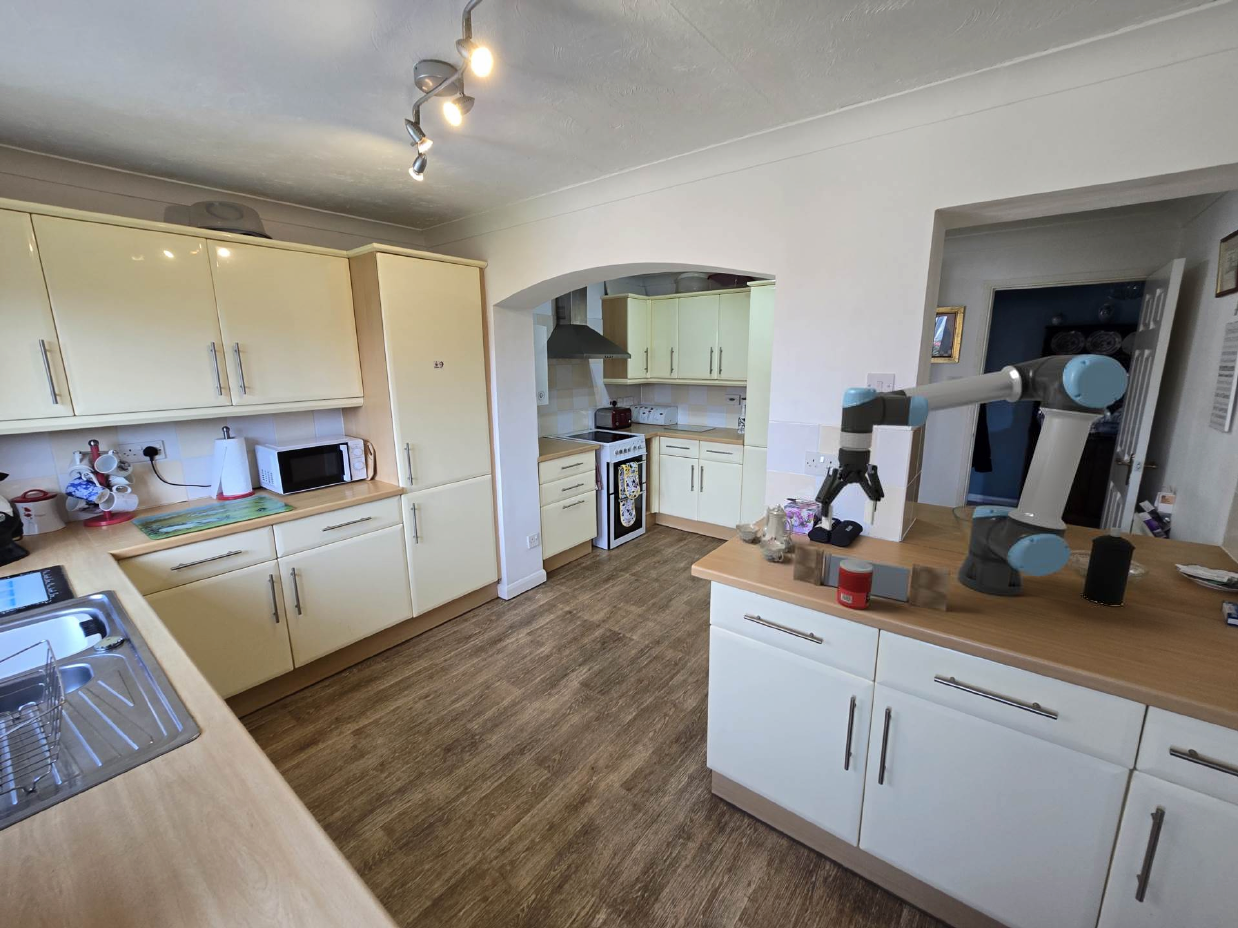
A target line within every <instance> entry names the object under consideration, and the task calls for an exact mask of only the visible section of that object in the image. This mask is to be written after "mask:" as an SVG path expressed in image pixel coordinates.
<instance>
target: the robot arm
mask: <svg viewBox="0 0 1238 928" xmlns="http://www.w3.org/2000/svg"><path fill="white" fill-rule="evenodd" d="M1128 381H1129V380H1128V374H1127V371H1126V369H1125V368H1124V367H1123V366H1122V364H1121V362H1119V361H1118V360H1116V359H1114V358H1113V357H1109V356H1107V355H1099V354H1093V353H1091V354H1085V353H1084V354H1067V355H1066V354H1065V355H1064V354H1058V355H1056V354H1055V355H1050V356H1045V357H1041V358H1037V359H1033V360H1029V361H1025V362H1021V363H1017V364H1013V365H1011V364H1010V365H1007V366H1004V367H1003V368H1002V369H1001V371H993V372H989V373H984V374H980V375H974V376H968V377H967V376H966V377H962V378H956V379H951V380H950V379H949V380H945V381H940V382H935V383H929V384H925V385H918V386H911V387H907V388H901V389H898V390H897V389H896V390H890V391H886V392H884V391H877V389H876V388H873V387H849V388H846V390H844V393H843V399H842V400H843V401H842V405H841V407H842V410H841V423H840V432H839V434H840V435H839V446H840V447H839V449H838V453H837V455H838V456H837V458H838V459H837V461H838V467H833V466H829V467H828V468H827V474H826V476H825V479H824V480H823V482H822V484H821V487H820V488H819V490H818V493H817V494H816V497H815V499H814V501H815V502H816V503H818V504H820V505H821V509H820V516H821V517H822V519H821V527H822V528H823V529H825V530H827V531H832V523H833V511H834V510H833V509H834V506H833V505H832V503H833V502H834V501H835V499H836V498H837V497H838V496H839V494H840V493H841V491H842V490H843V489H844V487H847V486H848V485H852V484H859V485H860V487H861V488H862V489H861V490H863V492H864V493H865V495H866V496H867V498H865V503H864V511H863V512H864V513H863V523H865V524H868V525H870V526H873V525H874V522H875V512H877V507H878V506H877V505H878V503H880V502H881V501H882V499H884V498H885V492H884V490H883V487H882V486H883V485H882V482H881V480H880V476H879V474H878V470H879V469H878V465H875V464H873V463H872V464H871V463H870V461H871V452H872V451H871V450H870V448H872V442H873V433H874V426H877V427H878V426H888V427H889V426H890V427H891V426H895V427H908V428H911V427H921V426H923V425H924V424H925V423H926V422H927V421H928V417H929V413H931V412H938V411H943V410H949V409H951V410H952V409H955V408H962V407H968V406H974V405H978V404H979V405H980V404H985V403H991V402H996V401H1003V400H1005V401H1007V402H1011V403H1014V402H1021V401H1040V406H1039V410H1040V411H1041V412H1042V414H1043V415H1044V419H1043V422H1042V427H1041V430H1040V434H1039V436H1038V438H1037V439H1038V440H1037V443H1036V446H1035V449H1034V453H1033V455H1032V456H1033V457H1032V459H1031V463H1030V466H1029V469H1028V473H1027V476H1026V479H1025V482H1024V486H1023V489H1022V491H1021V492H1022V493H1021V495H1020V499H1019V503H1018V504H1017V505H1018V506H1017V507H1011V506H1004V505H1003V506H1002V505H979V506H977V507H976V508H975V509H974V511H973V515H972V516H971V519H972V520H971V529H970V530H971V531H970V536H969V544H968V552H967V555H966V557H965V559H964V560H963V562H962V563H961V565H960V567H959V568H958V571H957V576H956V578H957V580H958V582H959V583H960V584H962V585H964V586H965V587H968V588H970V589H972V590H974V591H978V592H981V593H985V594H990V595H994V596H1003V597H1005V596H1006V597H1009V596H1010V597H1011V596H1019V595H1021V594H1022V593H1023V589H1024V579H1023V577H1022V573H1023V574H1025V575H1028V576H1033V577H1046V576H1050V575H1052V574H1054V573H1056V572H1059V571H1061V570H1062V569H1064V567H1065V566H1066V565H1067V563H1068V562H1069V561H1070V557H1071V548H1070V546H1069V545H1068V543H1067V541H1066V540H1065V539H1064V536H1065V534H1066V532H1067V525H1066V524H1065V522H1064V521H1063V519H1062V516H1063V513H1064V512H1065V507H1066V504H1067V502H1068V497H1069V495H1070V492H1071V488H1072V485H1073V483H1074V480H1075V479H1074V478H1075V475H1076V473H1077V469H1078V467H1079V464H1080V462H1081V461H1080V460H1081V457H1082V454H1083V451H1084V448H1085V446H1086V441H1087V439H1088V436H1089V433H1090V430H1091V427H1092V424H1093V423H1094V422H1095V421H1097V420H1099V419H1101V418H1102V417H1104V416H1105V411H1106V408H1107V407H1108V406H1111V405H1113V404H1114V403H1115V402H1116V401H1119V399H1121V398H1122V397H1123V395H1124V394H1125V392H1126V390H1127V387H1128ZM866 475H867V476H866Z"/></svg>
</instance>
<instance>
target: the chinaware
mask: <svg viewBox="0 0 1238 928" xmlns="http://www.w3.org/2000/svg"><path fill="white" fill-rule="evenodd" d="M765 509H766V513H765V516H764V520H763V522H762V533H761V535H760V536H759V540H760V542H758V543H757V546H758V547H759V550H760V553H761V554H762V555H763V557H765V559H766V561H768V562H771V563H772V562H778V561H779V562H782V561H783V560H784V553H787V552H788V551H789V549H790V548H791V547H792V546H793V544H794V541H793V539H792V537H791V535H792V534H793V531H794V525H793V521H792V519H790V518H788V517H787V515H788V513H789V511H788V510H785V509H784V508H783V507H782V506H781V504H780V503H777V504H776V505H775V506H774V507H773V508H770V506H769V505H765ZM787 522H788V523H789V531H788V529H787ZM735 529H736V531H737V534H738V537H739V538H740V539H741V541H742V542H743V543H748V544H750V543H752V542H753V540H755V539H756V537H757V536H758V532H760V526H759V525H752V524H750V523H743V524H735ZM780 557H781V559H779V558H780Z"/></svg>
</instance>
